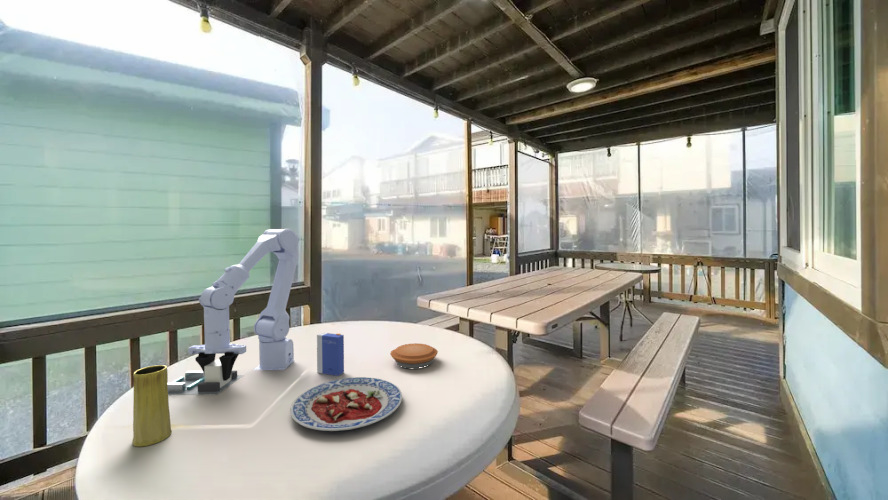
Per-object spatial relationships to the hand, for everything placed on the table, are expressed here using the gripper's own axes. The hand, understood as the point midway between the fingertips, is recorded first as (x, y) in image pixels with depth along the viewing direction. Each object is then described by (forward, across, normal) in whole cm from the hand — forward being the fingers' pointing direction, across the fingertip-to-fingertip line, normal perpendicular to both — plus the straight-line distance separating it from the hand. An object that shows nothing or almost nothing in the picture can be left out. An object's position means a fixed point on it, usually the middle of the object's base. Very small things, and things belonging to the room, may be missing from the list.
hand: (218, 379), depth 93 cm
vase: (+2, +2, -24) cm, 24 cm away
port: (+1, -9, 0) cm, 9 cm away
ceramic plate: (+2, +39, -12) cm, 41 cm away
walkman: (+2, +28, +9) cm, 29 cm away
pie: (+2, +53, +17) cm, 56 cm away
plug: (+1, 0, 0) cm, 1 cm away
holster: (+1, 0, 0) cm, 1 cm away
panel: (+2, -4, 0) cm, 5 cm away
